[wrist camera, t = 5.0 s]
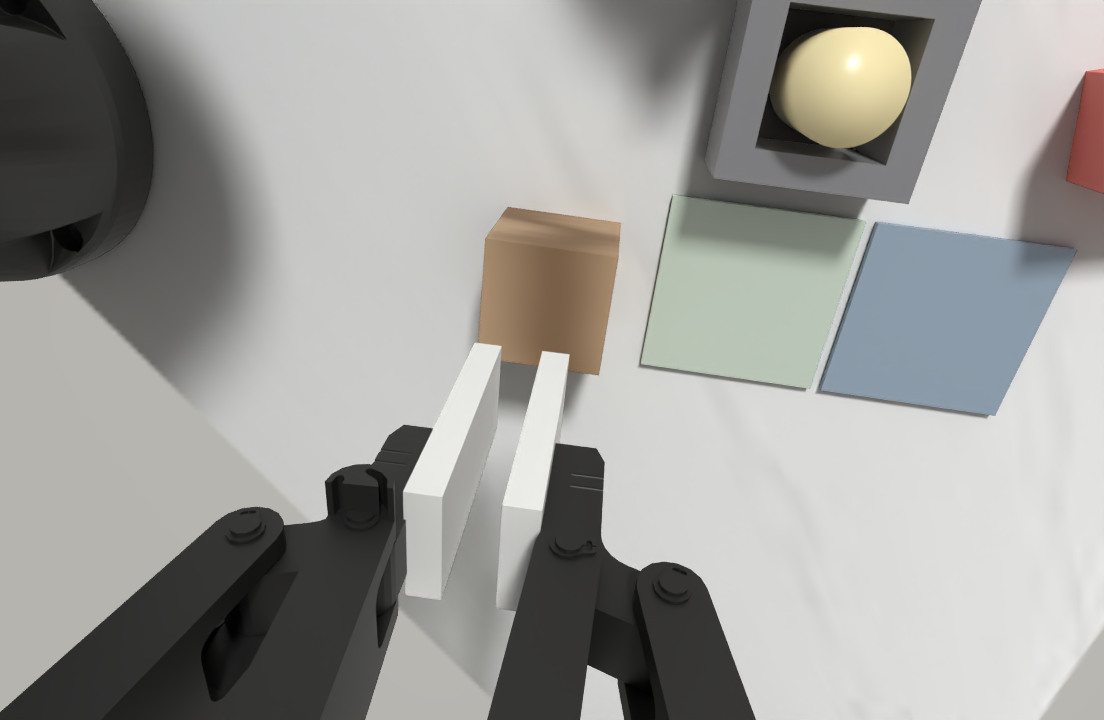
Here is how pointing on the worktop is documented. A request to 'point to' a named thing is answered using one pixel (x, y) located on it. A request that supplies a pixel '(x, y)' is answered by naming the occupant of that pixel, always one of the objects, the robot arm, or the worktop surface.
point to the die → (1089, 135)
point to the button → (841, 84)
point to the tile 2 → (942, 317)
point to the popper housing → (868, 172)
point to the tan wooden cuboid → (548, 287)
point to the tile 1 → (748, 290)
